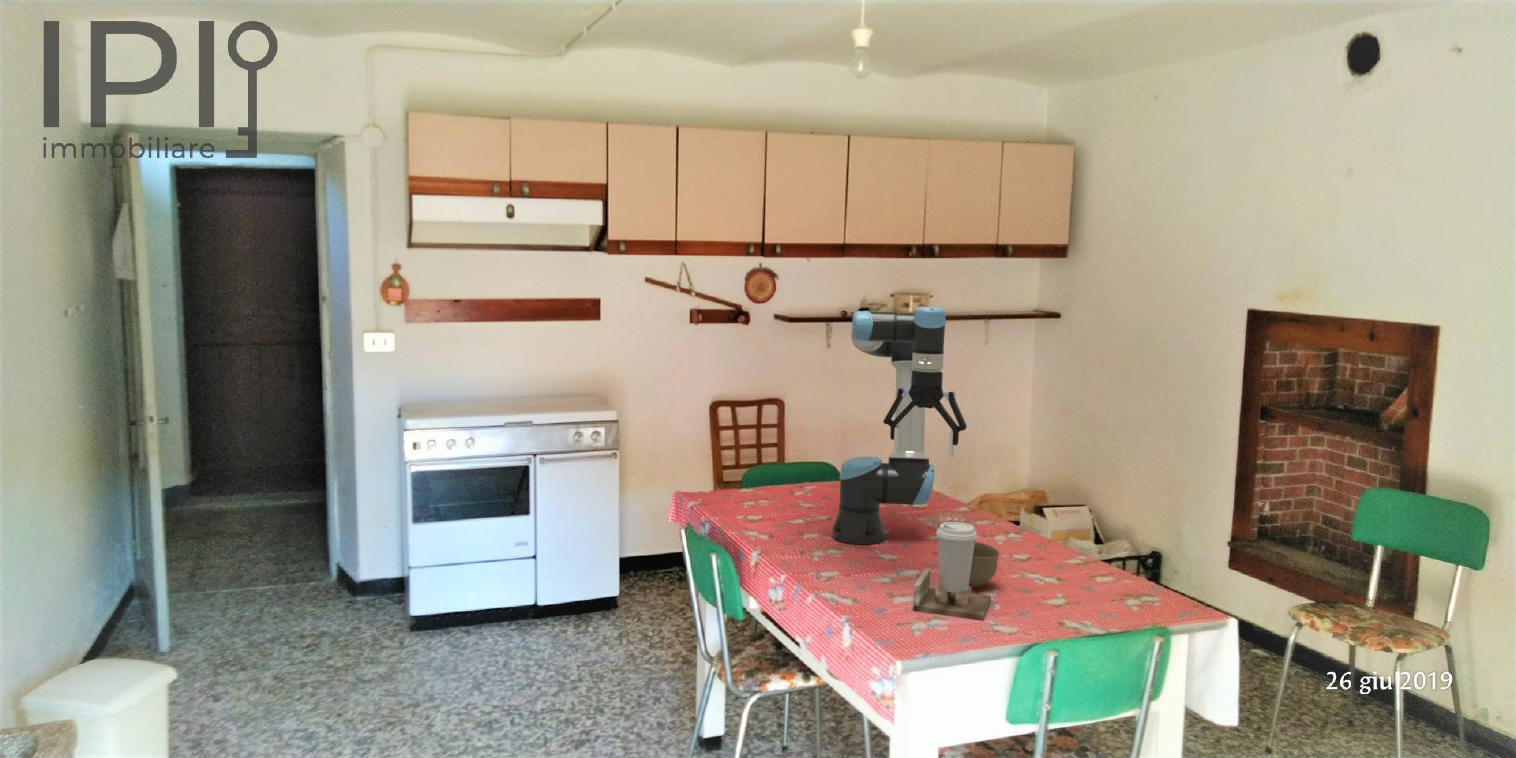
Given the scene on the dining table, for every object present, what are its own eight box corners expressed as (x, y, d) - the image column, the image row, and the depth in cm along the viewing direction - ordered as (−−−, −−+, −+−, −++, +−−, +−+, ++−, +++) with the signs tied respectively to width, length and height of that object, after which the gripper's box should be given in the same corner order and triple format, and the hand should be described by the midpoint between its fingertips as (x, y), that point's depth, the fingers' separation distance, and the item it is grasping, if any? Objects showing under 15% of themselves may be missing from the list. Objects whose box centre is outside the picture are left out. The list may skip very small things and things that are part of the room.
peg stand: (913, 610, 235) (914, 585, 234) (924, 592, 248) (925, 568, 248) (983, 620, 230) (984, 594, 229) (990, 601, 243) (992, 576, 242)
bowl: (987, 597, 246) (989, 557, 244) (938, 587, 252) (940, 548, 251) (1004, 583, 256) (1006, 545, 255) (956, 574, 263) (958, 536, 262)
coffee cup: (928, 581, 243) (931, 520, 241) (967, 581, 244) (971, 521, 242) (939, 595, 233) (942, 532, 231) (979, 595, 234) (983, 532, 232)
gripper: (873, 368, 249) (870, 453, 251) (976, 375, 241) (971, 462, 243) (880, 365, 256) (877, 448, 259) (980, 371, 248) (976, 457, 250)
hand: (923, 455), depth 251 cm, fingers open, 13 cm apart
